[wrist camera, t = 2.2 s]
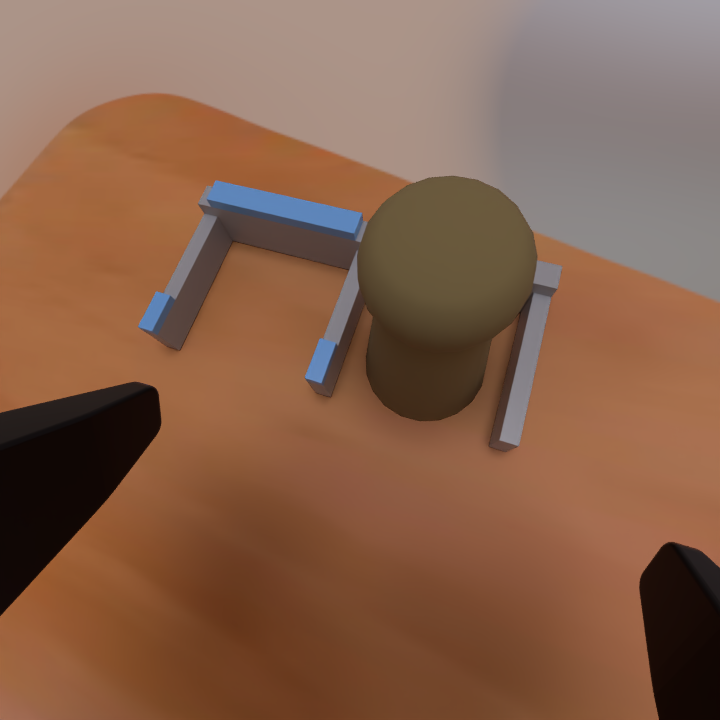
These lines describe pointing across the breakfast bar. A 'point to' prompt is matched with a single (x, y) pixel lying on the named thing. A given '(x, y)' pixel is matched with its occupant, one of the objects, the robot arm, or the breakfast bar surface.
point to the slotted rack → (339, 248)
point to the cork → (441, 290)
